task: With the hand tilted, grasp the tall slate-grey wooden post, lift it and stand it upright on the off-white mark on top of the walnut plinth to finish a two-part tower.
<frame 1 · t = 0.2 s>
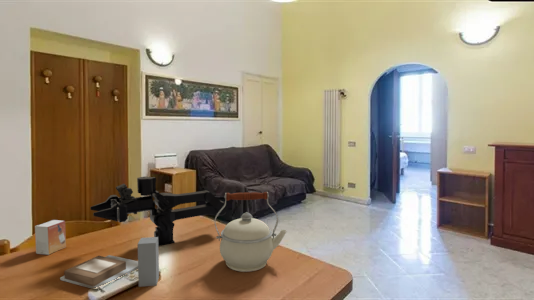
hand: (91, 211, 112), 17 cm above the table, tool horizontal, fingers open, 9 cm apart
post: (149, 281, 96), on the table
small box: (51, 250, 119), on the table
kettle: (251, 263, 110), on the table
plinth: (96, 276, 99), on the table
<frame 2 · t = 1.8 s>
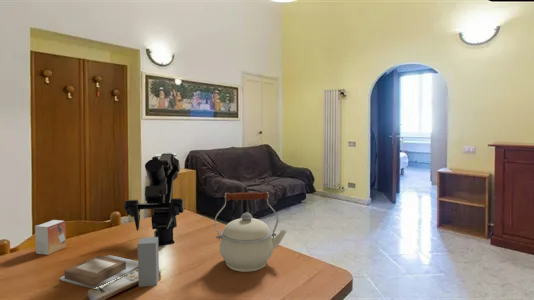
hand: (152, 229, 103), 14 cm above the table, tool tilted 45°, fingers open, 9 cm apart
nothing on the table moved.
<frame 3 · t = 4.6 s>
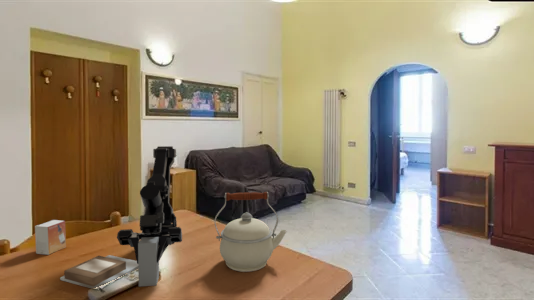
hand: (147, 262, 94), 7 cm above the table, tool tilted 45°, fingers closed on post, 5 cm apart
post: (149, 281, 96), on the table, touching gripper
everything else where it was.
when the fingers open (11 cm above the table, at t = 8.8 s): post stays where it is, resting on plinth.
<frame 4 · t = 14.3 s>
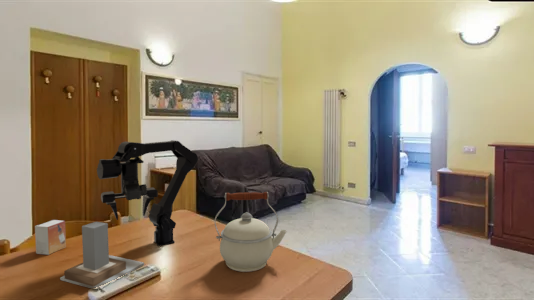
hand: (130, 217, 117), 13 cm above the table, tool pointing down, fingers open, 9 cm apart
post: (96, 265, 99), point 3 cm above the table, touching plinth
everything else where it was.
at the end: post inside the target area on the plinth (0.1 cm from its centre), point 3.5 cm above the plinth's base; post tilted 0°; the gripper is holding nothing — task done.
